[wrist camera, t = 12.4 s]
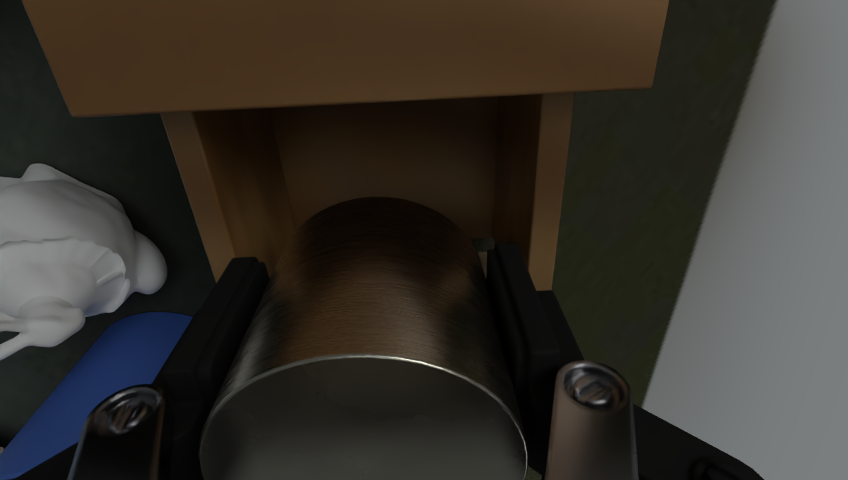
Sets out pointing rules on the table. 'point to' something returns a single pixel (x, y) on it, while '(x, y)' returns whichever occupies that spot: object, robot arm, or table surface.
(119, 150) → the table surface
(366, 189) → the drawer
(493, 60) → the cabinet
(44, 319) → the grey animal figurine
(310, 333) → the tin
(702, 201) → the table surface
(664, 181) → the table surface
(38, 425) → the water bottle
